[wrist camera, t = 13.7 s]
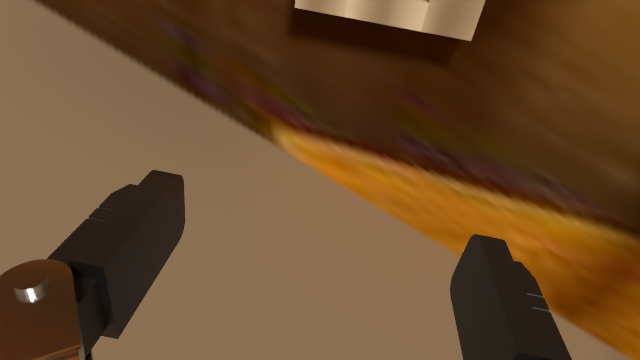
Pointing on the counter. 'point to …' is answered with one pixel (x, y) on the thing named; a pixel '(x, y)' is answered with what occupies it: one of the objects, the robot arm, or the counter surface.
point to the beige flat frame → (407, 14)
